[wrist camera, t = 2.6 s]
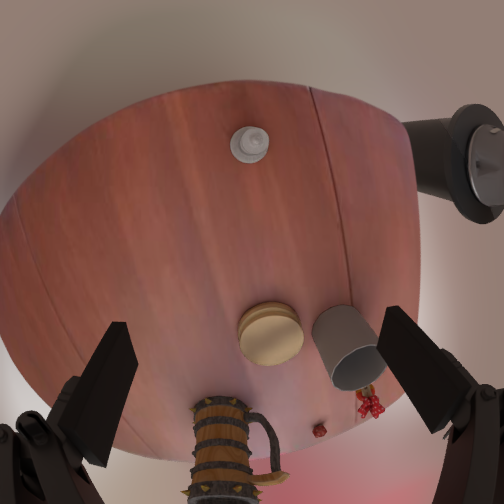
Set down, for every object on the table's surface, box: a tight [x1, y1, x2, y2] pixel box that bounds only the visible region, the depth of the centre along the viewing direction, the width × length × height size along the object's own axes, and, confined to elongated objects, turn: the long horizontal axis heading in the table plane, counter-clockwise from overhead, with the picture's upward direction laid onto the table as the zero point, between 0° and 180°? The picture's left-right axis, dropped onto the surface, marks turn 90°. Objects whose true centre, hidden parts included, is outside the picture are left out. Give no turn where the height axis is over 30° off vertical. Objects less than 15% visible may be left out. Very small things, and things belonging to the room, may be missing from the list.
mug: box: [181, 396, 290, 504], centre depth 36 cm, size 13×17×20 cm
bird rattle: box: [356, 384, 385, 419], centre depth 40 cm, size 6×11×9 cm
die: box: [312, 425, 327, 438], centre depth 48 cm, size 3×3×3 cm
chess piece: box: [230, 126, 269, 163], centre depth 26 cm, size 4×4×10 cm
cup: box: [312, 305, 387, 391], centre depth 36 cm, size 8×8×10 cm
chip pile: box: [238, 302, 304, 366], centre depth 38 cm, size 10×9×3 cm
